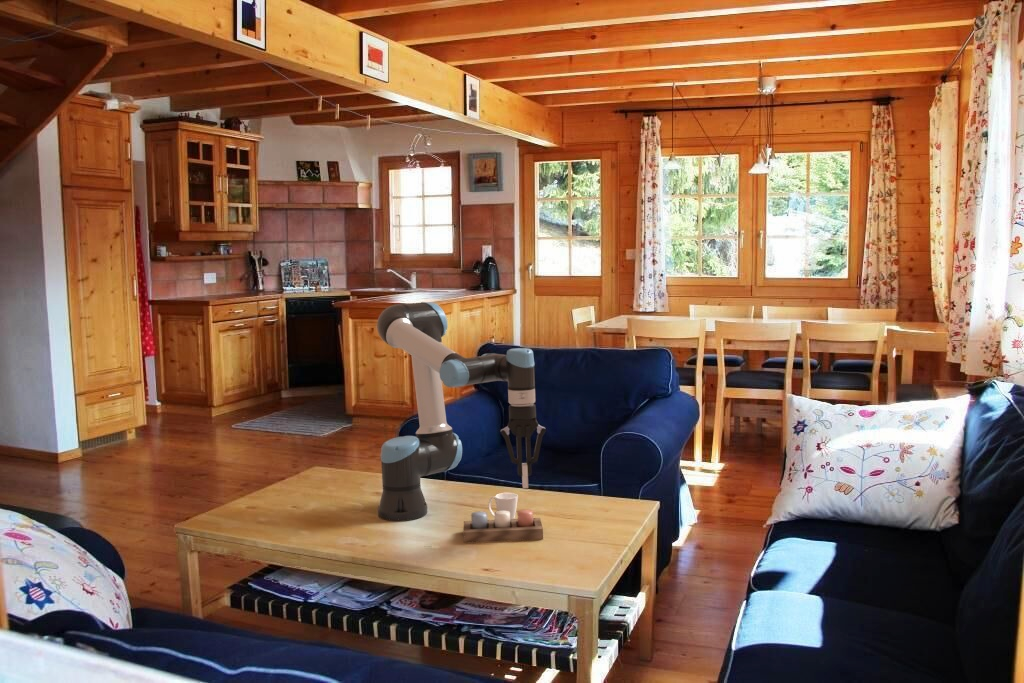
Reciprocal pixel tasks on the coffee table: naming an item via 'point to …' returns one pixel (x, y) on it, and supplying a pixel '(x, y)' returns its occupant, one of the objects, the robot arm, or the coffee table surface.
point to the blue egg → (479, 520)
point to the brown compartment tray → (503, 532)
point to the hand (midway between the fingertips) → (525, 486)
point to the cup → (505, 503)
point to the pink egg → (525, 518)
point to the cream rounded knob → (502, 519)
